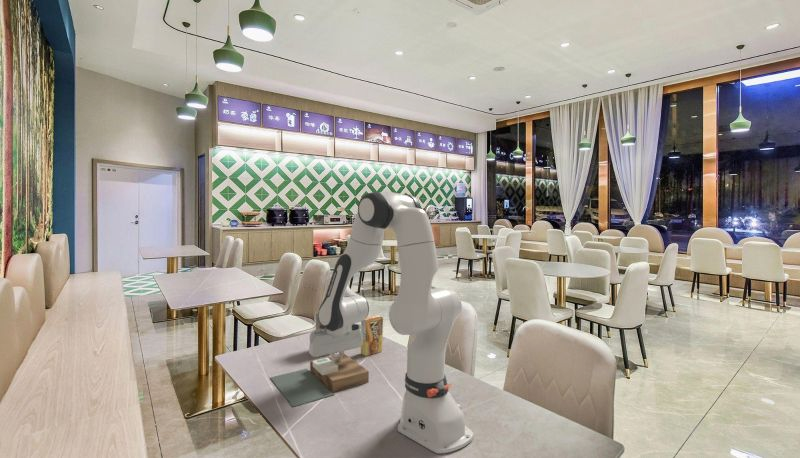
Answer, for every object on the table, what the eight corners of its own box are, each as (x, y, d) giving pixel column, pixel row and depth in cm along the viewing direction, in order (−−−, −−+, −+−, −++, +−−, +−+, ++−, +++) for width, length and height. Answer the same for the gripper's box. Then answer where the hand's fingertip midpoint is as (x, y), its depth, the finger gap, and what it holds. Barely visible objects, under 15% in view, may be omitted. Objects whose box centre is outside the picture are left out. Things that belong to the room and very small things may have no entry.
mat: (334, 395, 131) (334, 394, 131) (293, 407, 123) (293, 406, 123) (306, 369, 151) (306, 368, 151) (270, 378, 143) (270, 377, 143)
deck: (368, 381, 141) (368, 371, 141) (332, 392, 133) (332, 380, 133) (343, 362, 157) (343, 353, 157) (310, 370, 149) (310, 360, 149)
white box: (338, 371, 140) (338, 366, 140) (322, 375, 137) (322, 369, 136) (327, 362, 147) (327, 357, 147) (312, 366, 144) (312, 360, 144)
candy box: (377, 348, 173) (377, 314, 172) (382, 351, 170) (383, 316, 168) (360, 353, 167) (360, 318, 166) (365, 356, 164) (366, 320, 163)
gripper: (313, 333, 135) (313, 372, 136) (365, 324, 147) (364, 360, 148) (306, 328, 140) (306, 366, 141) (357, 319, 152) (356, 354, 153)
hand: (336, 363), depth 144 cm, fingers closed
